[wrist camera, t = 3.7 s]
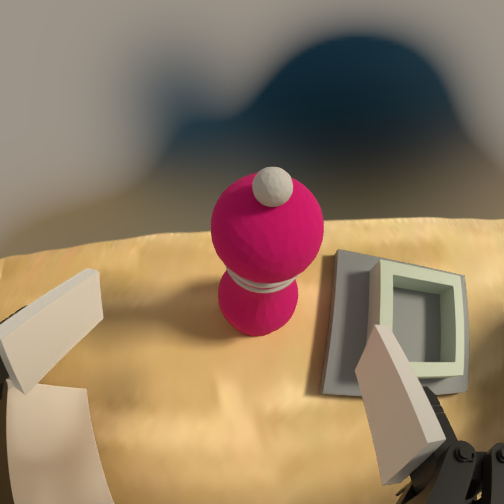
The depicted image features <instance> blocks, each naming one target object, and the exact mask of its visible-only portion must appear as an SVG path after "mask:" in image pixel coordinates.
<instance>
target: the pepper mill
mask: <svg viewBox="0 0 504 504" xmlns="http://www.w3.org/2000/svg"><path fill="white" fill-rule="evenodd" d="M323 233H324V221H323V217H322V212H321V208H320V206H319V204H318V202H317V200H316V199H315V197H314V196H313V194H312V193H311V192H310V191H309V190H308V189H307V188H306V187H305V186H304V185H302V184H301V183H300V182H298V181H297V180H295V179H293V178H291V177H290V176H289V174H288V173H287V172H285V171H284V170H283V169H281V168H278V167H267V168H264V169H262V170H261V171H259V172H258V173H254V174H251V175H248V176H245V177H243V178H241V179H239V180H237V181H235V182H234V183H233V184H231V185H230V186H229V187H228V188H227V189H226V190H225V191H224V192H223V193H222V194H221V196H220V197H219V199H218V201H217V203H216V205H215V207H214V210H213V214H212V218H211V236H212V242H213V245H214V248H215V250H216V253H217V255H218V256H219V257H220V259H221V260H222V261H223V263H224V264H225V265H226V269H227V270H226V272H225V273H224V275H223V276H222V278H221V281H220V284H219V290H218V298H219V305H220V308H221V311H222V313H223V315H224V317H225V318H226V319H227V321H228V322H229V323H230V324H231V325H233V326H234V327H235V328H236V329H237V330H238V331H240V332H241V333H243V334H246V335H249V336H264V335H267V334H269V333H271V332H273V331H276V330H278V329H279V328H281V327H282V326H284V325H285V324H286V323H287V322H288V321H289V319H290V318H291V317H292V315H293V313H294V311H295V308H296V305H297V300H298V287H297V283H296V280H295V278H296V277H297V275H298V274H300V273H301V272H303V271H304V270H305V269H306V268H307V267H308V266H309V265H310V264H311V263H312V261H313V260H314V259H315V257H316V255H317V253H318V251H319V249H320V246H321V243H322V240H323Z"/></svg>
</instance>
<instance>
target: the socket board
mask: <svg viewBox="0 0 504 504" xmlns="http://www.w3.org/2000/svg"><path fill="white" fill-rule="evenodd" d="M374 325H384V326H389V327H390V329H391V330H392V332H393V334H394V336H395V337H396V339H397V341H398V343H399V344H400V346H401V348H402V350H403V352H404V354H405V355H406V357H407V359H408V361H409V363H410V365H411V366H412V368H413V370H414V372H415V374H416V376H417V378H418V380H419V382H420V384H421V386H427V387H428V388H429V389H430V390H431V391H432V392H433V393H434V394H435V395H441V394H452V393H461V392H467V384H468V369H469V319H468V303H467V292H466V283H465V276H464V275H460V274H455V273H451V272H446V271H442V270H437V269H433V268H428V267H423V266H419V265H414V264H409V263H405V262H400V261H395V260H390V259H385V258H380V257H375V256H370V255H366V254H361V253H355V252H350V251H345V250H340V249H338V250H337V252H336V253H335V255H334V271H333V285H332V296H331V307H330V317H329V326H328V334H327V342H326V350H325V357H324V364H323V371H322V377H321V383H320V389H319V393H323V394H335V395H351V396H362V395H361V391H360V387H359V384H358V380H357V377H356V373H355V369H356V367H357V365H358V362H359V360H360V358H361V356H362V354H363V351H364V349H365V347H366V344H367V342H368V340H369V337H370V335H371V332H372V330H373V327H374Z"/></svg>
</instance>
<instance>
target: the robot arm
mask: <svg viewBox="0 0 504 504" xmlns="http://www.w3.org/2000/svg"><path fill="white" fill-rule="evenodd" d="M103 319H104V317H103V309H102V301H101V290H100V278H99V271H97V270H93V269H90V268H87V269H85V270H83V271H82V272H80V273H78V274H77V275H75V276H73V277H72V278H70V279H68V280H67V281H65V282H63V283H62V284H60V285H59V286H57V287H55V288H54V289H52V290H51V291H49V292H48V293H46V294H44V295H43V296H41V297H40V298H38V299H37V300H35V301H34V302H32V303H31V304H29V305H27V306H24V307H22V308H21V309H19V310H18V311H16V312H15V314H14V313H13V314H12V315H10V316H9V318H6V319H5V320H3V321H2V322H0V504H14V500H13V494H12V489H11V482H10V475H9V467H8V456H7V437H6V413H7V394H8V383H7V381H6V379H7V378H8V377H10V379H11V381H12V383H13V385H14V387H15V388H16V389H18V390H19V391H20V392H22V393H23V394H24V395H27V394H28V393H29V392H30V390H31V389H32V388H33V387H34V386H35V385H36V384H37V383H38V382H39V381H40V380H41V379H42V378H43V377H44V376H45V375H46V374H47V373H48V372H49V371H50V370H51V369H52V368H53V367H54V366H55V365H56V364H57V363H58V362H59V361H60V360H61V359H62V358H63V357H64V356H65V355H66V354H67V353H68V352H69V351H70V350H71V349H72V348H73V347H74V346H75V345H76V344H77V343H78V342H79V341H80V340H81V339H82V338H83V337H84V336H85V335H87V334H88V333H89V332H90V331H91V330H92V329H93V328H94V327H95V326H96V325H97V324H98V323H99V322H100V321H101V320H103ZM355 373H356V377H357V380H358V384H359V387H360V391H361V395H362V398H363V402H364V406H365V410H366V414H367V418H368V422H369V426H370V430H371V434H372V438H373V443H374V447H375V452H376V456H377V461H378V466H379V471H380V476H381V481H382V486H383V485H390V484H396V483H401V482H402V481H403V480H404V479H405V478H407V477H408V476H409V475H410V477H411V482H410V483H409V484H407V485H406V486H405V487H404V488H402V489H401V490H400V491H399V492H398V493H397V494H396V495H397V496H398V495H400V494H401V493H402V492H403V493H402V495H401V497H400V498H399V500H398V502H397V503H396V504H504V443H497V444H496V445H494V446H493V447H492V448H491V449H490V450H489V451H488V452H475V449H474V448H473V447H472V445H470V444H469V443H467V442H465V441H458V440H457V438H456V436H455V434H454V431H453V429H452V427H451V425H450V423H449V421H448V419H447V417H446V415H445V413H444V411H443V409H442V407H441V406H440V403H439V401H438V399H437V397H436V395H435V394H434V393H433V392H432V391H431V390H430V389H429V388H428V387H427V386H421V384H420V382H419V380H418V378H417V376H416V374H415V372H414V370H413V368H412V366H411V365H410V363H409V361H408V359H407V357H406V355H405V354H404V352H403V350H402V348H401V346H400V344H399V343H398V341H397V339H396V337H395V336H394V334H393V332H392V330H391V329H390V327H389V326H384V325H374V327H373V330H372V332H371V335H370V337H369V340H368V342H367V344H366V347H365V349H364V351H363V354H362V356H361V358H360V360H359V362H358V365H357V367H356V369H355ZM481 491H482V494H481V498H480V499H479V500H477V494H479V493H480V492H481Z"/></svg>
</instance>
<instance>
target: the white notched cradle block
mask: <svg viewBox="0 0 504 504" xmlns="http://www.w3.org/2000/svg"><path fill="white" fill-rule="evenodd" d="M6 381H7V383H8V394H7V413H6V437H7V456H8V467H9V475H10V482H11V489H12V494H13V500H14V504H114V502H113V499H112V496H111V494H110V491H109V488H108V485H107V481H106V478H105V475H104V472H103V468H102V465H101V461H100V457H99V453H98V449H97V445H96V441H95V436H94V431H93V426H92V421H91V416H90V410H89V403H88V397H87V389H84V388H72V387H61V386H52V385H45V384H36V385H35V386H34V387H33V388H32V389H31V390H30V392H29V393H28V394H27V395H24V394H23V393H22V392H20V391H19V390H18V389H16V388H15V387H14V385H13V383H12V381H11V379H6Z"/></svg>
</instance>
